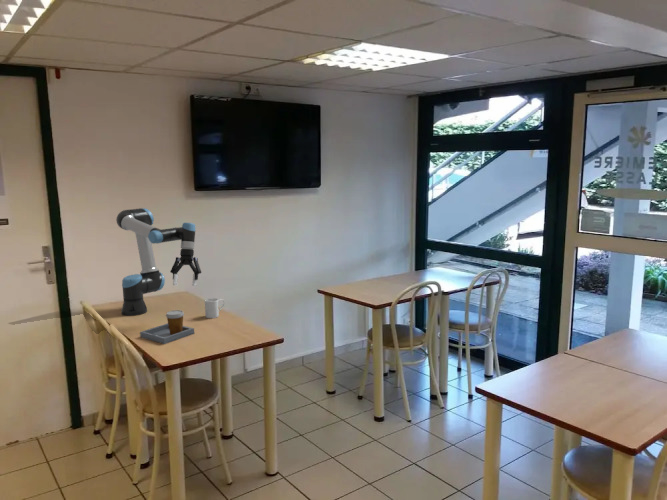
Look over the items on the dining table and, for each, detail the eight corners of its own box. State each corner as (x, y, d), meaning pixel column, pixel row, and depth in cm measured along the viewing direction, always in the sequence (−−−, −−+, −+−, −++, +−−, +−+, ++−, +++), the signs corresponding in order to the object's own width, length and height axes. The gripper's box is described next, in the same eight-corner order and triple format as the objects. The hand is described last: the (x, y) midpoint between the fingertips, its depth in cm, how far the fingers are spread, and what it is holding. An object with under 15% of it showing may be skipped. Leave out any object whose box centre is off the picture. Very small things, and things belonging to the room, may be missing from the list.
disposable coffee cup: (187, 330, 295) (186, 310, 293) (181, 336, 285) (179, 315, 283) (171, 330, 296) (170, 309, 294) (164, 336, 286) (162, 314, 284)
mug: (208, 319, 318) (207, 302, 317) (203, 316, 325) (202, 299, 323) (227, 315, 325) (226, 299, 324) (222, 312, 332) (221, 296, 330)
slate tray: (140, 337, 287) (140, 332, 286) (170, 327, 303) (170, 322, 302) (164, 344, 276) (164, 338, 275) (194, 333, 292) (194, 328, 291)
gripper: (208, 249, 310) (206, 286, 307) (174, 250, 319) (171, 285, 317) (201, 248, 303) (198, 285, 300) (165, 248, 312) (163, 284, 310)
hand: (184, 285), depth 309 cm, fingers open, 13 cm apart
